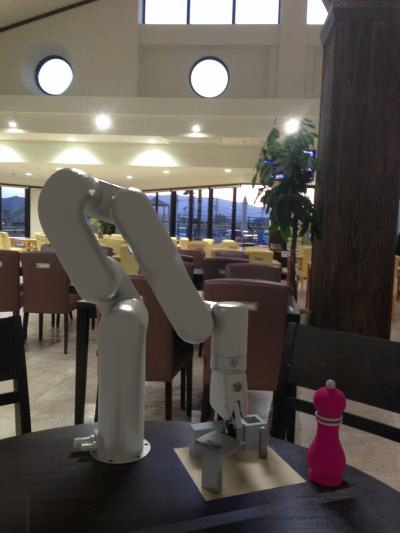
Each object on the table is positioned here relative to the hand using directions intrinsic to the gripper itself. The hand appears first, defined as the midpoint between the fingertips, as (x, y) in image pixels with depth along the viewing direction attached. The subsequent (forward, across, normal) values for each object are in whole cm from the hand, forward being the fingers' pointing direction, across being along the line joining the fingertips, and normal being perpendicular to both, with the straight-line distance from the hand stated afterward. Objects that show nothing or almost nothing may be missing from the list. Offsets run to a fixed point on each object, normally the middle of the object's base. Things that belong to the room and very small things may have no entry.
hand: (224, 445), depth 95 cm
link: (+1, 0, 0) cm, 1 cm away
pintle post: (+2, -6, -6) cm, 8 cm away
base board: (+2, -7, 0) cm, 7 cm away
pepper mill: (+2, -16, -14) cm, 21 cm away
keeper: (+2, -12, +6) cm, 13 cm away
